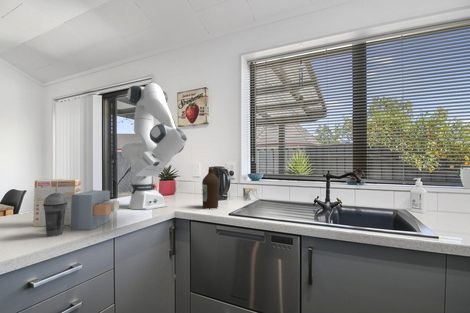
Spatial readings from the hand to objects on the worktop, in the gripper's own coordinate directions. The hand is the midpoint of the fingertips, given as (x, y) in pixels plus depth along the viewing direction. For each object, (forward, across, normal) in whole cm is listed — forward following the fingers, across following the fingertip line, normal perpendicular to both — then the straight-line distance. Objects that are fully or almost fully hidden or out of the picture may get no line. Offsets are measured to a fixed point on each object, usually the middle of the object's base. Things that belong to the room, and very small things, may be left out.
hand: (137, 181), depth 103 cm
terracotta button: (+18, +7, +1) cm, 19 cm away
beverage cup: (+29, +18, -2) cm, 35 cm away
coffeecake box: (+36, +6, -11) cm, 38 cm away
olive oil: (-4, -43, +28) cm, 52 cm away
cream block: (+18, 0, 0) cm, 18 cm away
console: (+26, +4, 0) cm, 26 cm away
